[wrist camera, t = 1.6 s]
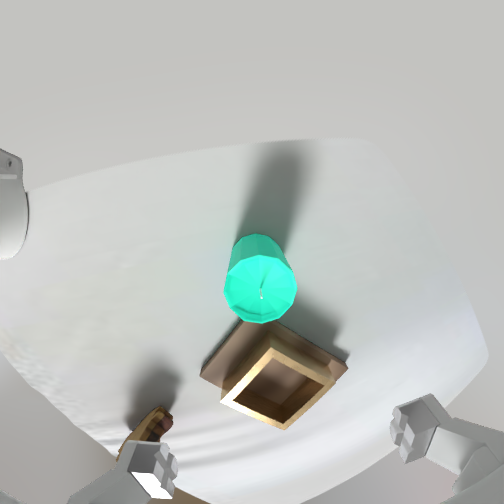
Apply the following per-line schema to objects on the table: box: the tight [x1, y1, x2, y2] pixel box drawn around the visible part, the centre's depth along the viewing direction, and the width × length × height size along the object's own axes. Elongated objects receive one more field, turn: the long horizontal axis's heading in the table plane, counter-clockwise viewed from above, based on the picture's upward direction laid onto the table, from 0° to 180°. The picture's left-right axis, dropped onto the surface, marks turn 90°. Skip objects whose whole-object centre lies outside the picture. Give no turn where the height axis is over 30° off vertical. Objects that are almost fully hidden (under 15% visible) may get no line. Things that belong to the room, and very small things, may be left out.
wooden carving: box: [116, 406, 173, 462], centre depth 34 cm, size 16×5×10 cm, turn 145°
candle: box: [223, 233, 297, 324], centre depth 28 cm, size 6×6×12 cm
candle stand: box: [200, 320, 348, 430], centre depth 34 cm, size 16×12×6 cm
